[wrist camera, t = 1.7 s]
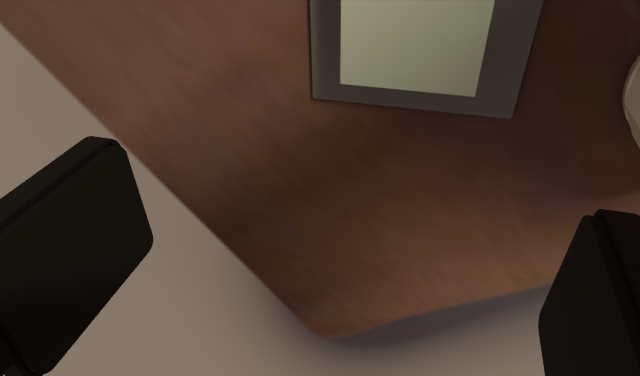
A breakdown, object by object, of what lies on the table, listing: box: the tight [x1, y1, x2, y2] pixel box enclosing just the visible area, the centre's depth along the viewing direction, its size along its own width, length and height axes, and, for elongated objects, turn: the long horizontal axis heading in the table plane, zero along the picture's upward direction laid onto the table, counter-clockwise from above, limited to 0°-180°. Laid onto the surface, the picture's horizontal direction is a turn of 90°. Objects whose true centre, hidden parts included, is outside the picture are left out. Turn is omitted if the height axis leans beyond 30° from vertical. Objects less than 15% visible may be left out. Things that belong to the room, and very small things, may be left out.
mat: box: [310, 0, 544, 119], centre depth 24 cm, size 12×12×1 cm
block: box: [340, 0, 495, 97], centre depth 22 cm, size 7×7×3 cm
